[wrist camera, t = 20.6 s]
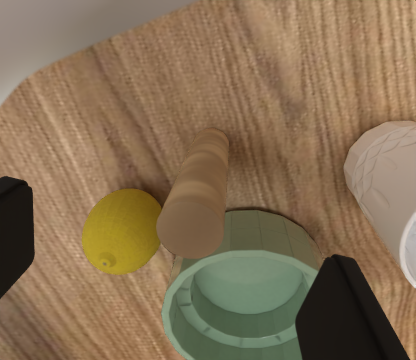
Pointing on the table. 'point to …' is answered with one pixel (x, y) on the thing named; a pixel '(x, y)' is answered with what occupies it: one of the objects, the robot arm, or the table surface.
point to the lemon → (122, 231)
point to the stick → (197, 199)
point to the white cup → (388, 187)
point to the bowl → (242, 291)
